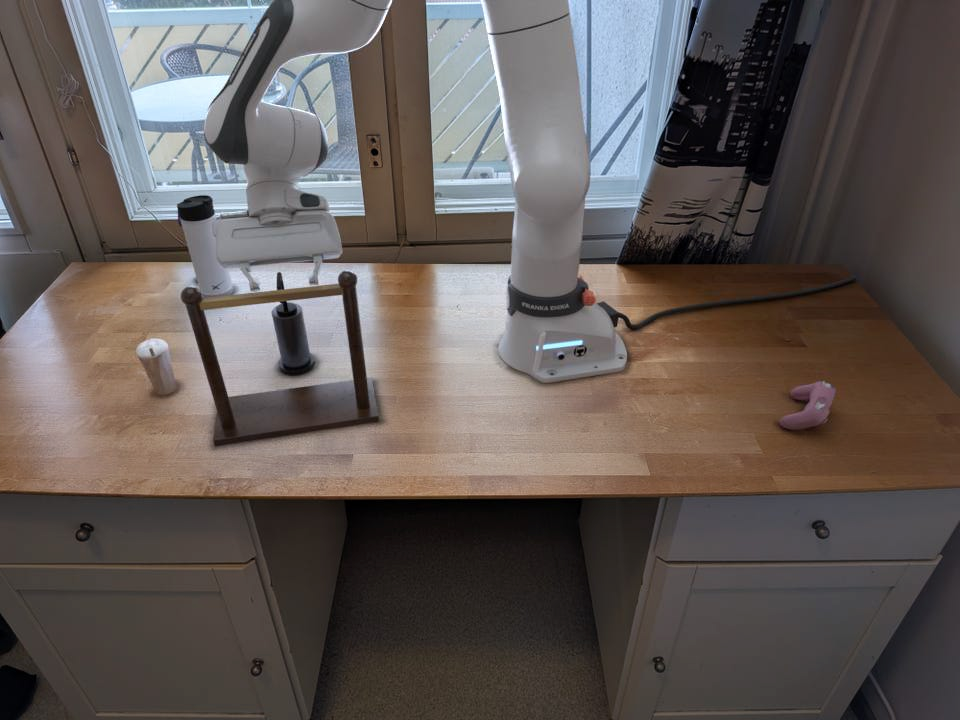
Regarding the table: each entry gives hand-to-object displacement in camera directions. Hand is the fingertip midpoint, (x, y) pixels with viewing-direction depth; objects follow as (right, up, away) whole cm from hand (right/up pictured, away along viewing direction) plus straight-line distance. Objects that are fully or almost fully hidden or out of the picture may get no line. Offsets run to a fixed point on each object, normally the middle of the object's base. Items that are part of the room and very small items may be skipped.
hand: (285, 287), depth 107 cm
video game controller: (+83, -21, -6) cm, 86 cm away
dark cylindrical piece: (+1, -14, +3) cm, 14 cm away
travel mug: (-21, +1, +24) cm, 32 cm away
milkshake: (-19, -17, -2) cm, 25 cm away
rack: (+4, -20, -6) cm, 22 cm away
